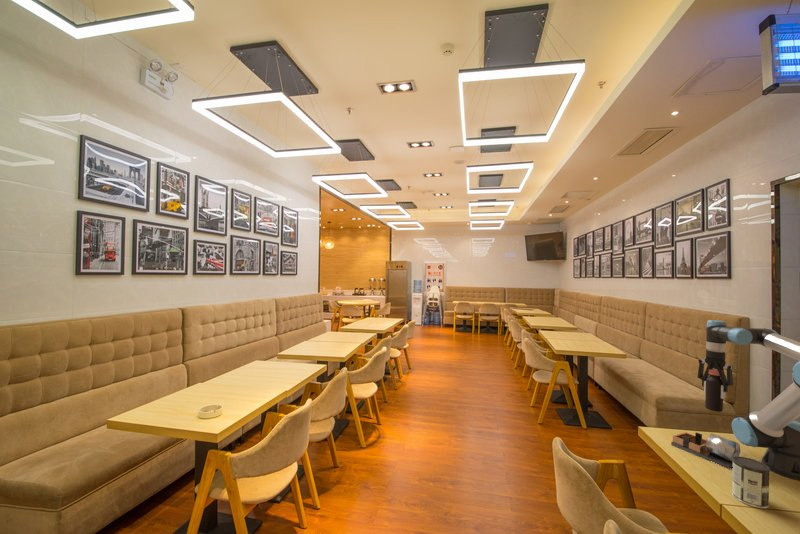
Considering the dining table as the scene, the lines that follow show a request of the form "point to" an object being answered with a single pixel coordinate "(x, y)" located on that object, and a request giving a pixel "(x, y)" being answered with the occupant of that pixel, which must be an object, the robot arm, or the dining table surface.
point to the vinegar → (713, 391)
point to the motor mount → (708, 447)
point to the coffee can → (750, 482)
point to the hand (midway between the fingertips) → (714, 395)
